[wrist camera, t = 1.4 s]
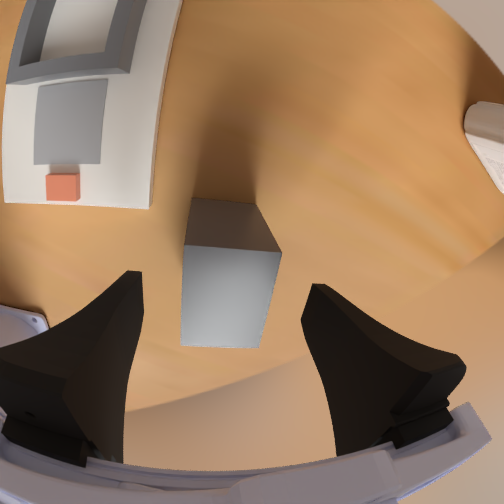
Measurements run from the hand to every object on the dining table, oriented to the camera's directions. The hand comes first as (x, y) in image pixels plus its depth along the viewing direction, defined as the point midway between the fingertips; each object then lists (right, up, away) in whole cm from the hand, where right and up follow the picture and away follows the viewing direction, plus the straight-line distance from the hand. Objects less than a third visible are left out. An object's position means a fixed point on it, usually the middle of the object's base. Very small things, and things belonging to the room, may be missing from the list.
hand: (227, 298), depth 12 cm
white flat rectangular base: (-8, +12, -1) cm, 15 cm away
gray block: (-1, +3, +5) cm, 6 cm away
